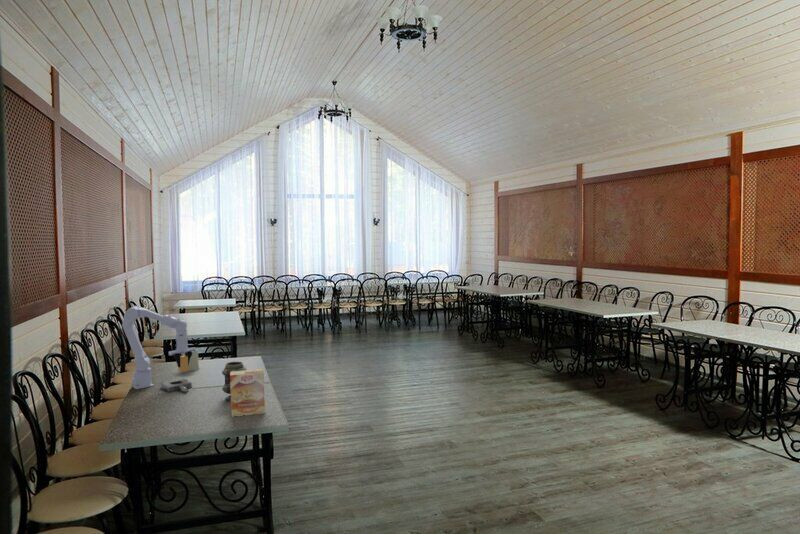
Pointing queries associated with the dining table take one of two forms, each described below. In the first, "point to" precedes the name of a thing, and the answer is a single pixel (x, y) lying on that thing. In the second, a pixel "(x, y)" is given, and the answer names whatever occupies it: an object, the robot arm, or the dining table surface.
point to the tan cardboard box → (183, 363)
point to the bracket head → (177, 385)
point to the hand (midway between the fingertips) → (183, 366)
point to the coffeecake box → (247, 392)
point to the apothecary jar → (226, 371)
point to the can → (193, 361)
